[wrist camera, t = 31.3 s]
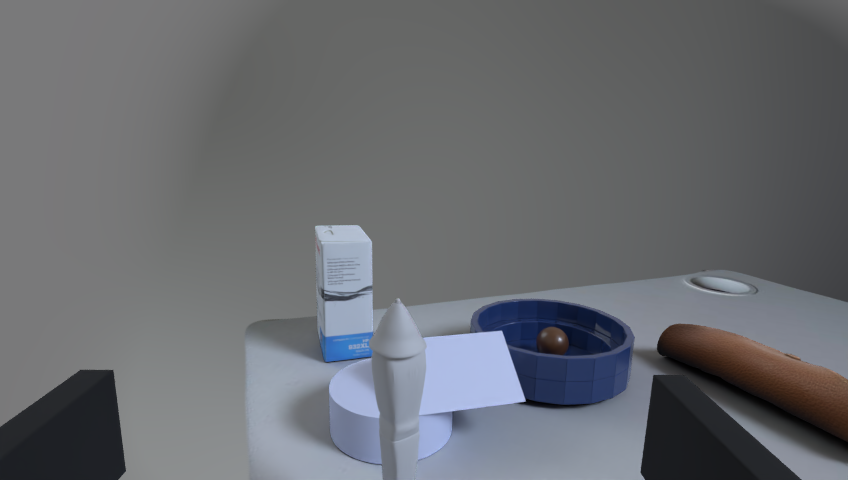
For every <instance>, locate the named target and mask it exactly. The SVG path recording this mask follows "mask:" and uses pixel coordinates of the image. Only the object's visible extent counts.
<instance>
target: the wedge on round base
mask: <svg viewBox="0 0 848 480" xmlns="http://www.w3.org/2000/svg"><path fill="white" fill-rule="evenodd" d="M423 339H424V340H425V342H426V345H427V348H426V349H425V354H426V374H425V381H424V388H423V394H422V399H421V405H420V411H419V434H420V437H419V447H418V460H420V459H423V458H426V457H428V456H430V455H432V454H434V453H435V452H437V451H438V450H439V449H441V448H442V447H443V446H444V445H445V444H446V443H447V441H448V440H449V438H450V435H451V432H452V415H453V411H458V410H465V409H473V408H481V407H489V406H496V405H504V404H512V403H519V402H526V400H525V397H524V394H523V391H522V388H521V385H520V382H519V380H518V377H517V374H516V371H515V368H514V365H513V362H512V359H511V356H510V353H509V350H508V347H507V344H506V341H505V338H504V335H503V332H502V331H493V332H482V333H470V334H459V335H448V336H436V337H425V338H423ZM329 408H330V434H331V438H332V440H333V442H334V443H335V445H336V446H337V447H338V448H339V449H340V450H341V451H343V452H344V453H345V454H347V455H349V456H351V457H353V458H355V459H358V460H361V461H364V462H368V463H374V464H382V461H381V449H380V437H379V428H380V426H379V415H380V412H379V409H378V406H377V401H376V395H375V389H374V382H373V375H372V358H370V359H366V360H362V361H359V362H356V363H353V364H351V365H349V366H347V367H345V368H343V369H342V370H340V371H339V372H338V373H337V374H336V375H335V376H334V377H333V378H332V380H331V382H330V385H329Z"/></svg>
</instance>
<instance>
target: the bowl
mask: <svg viewBox="0 0 848 480" xmlns="http://www.w3.org/2000/svg"><path fill="white" fill-rule="evenodd" d="M547 327H556V328H559V329H561V330H562V331H563V332H564V333H565V334H566V335H567V337H568V341H569V346H568V350H567V352H566V353H565V354H564V355H563V356H562V355H553V354H544V353H540V352H539V350H538V348H537V345H536V339H537V336H538V334H539V332H540V331H541V330H543V329H544V328H547ZM493 331H502V332H503V335H504V338H505V341H506V344H507V347H508V350H509V353H510V356H511V359H512V362H513V365H514V368H515V371H516V374H517V377H518V380H519V382H520V385H521V388H522V391H523V394H524V397H525V399H529V400H532V401H537V402H543V403H550V404H562V405H567V404H590V403H595V402H599V401H603V400H607V399H611V398H613V397H615V396H616V395H618V394H619V393H621V392H622V391H624V390H625V389H626V387H627V385H628V382H629V379H630V374H631V365H632V356H633V347H634V338H635V337H634V335H633V333H632V331H631V329H630V327H629V326H627V325H626V324H625V323H623V322H622V321H621V320H619V319H618V318H616V317H614V316H611V315H609V314H607V313H605V312H603V311H600V310H597V309H593V308H590V307H587V306H583V305H580V304H574V303H569V302H563V301H557V300H545V299H513V300H506V301H498V302H495V303H492V304H489V305H486V306H483V307H481V308H480V309H479V310H477V311H476V312H474V313H473V316H472V319H471V327H470V333H482V332H493Z"/></svg>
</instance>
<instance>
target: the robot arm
mask: <svg viewBox="0 0 848 480" xmlns="http://www.w3.org/2000/svg"><path fill="white" fill-rule="evenodd" d="M125 471H126V468H125V461H124V453H123V445H122V437H121V428H120V420H119V412H118V404H117V396H116V389H115V380H114V372H113V370H80V371H78V372H77V373H76V374H74V375H73V376H71V377H70V378H69V379H67V380H66V381H64V382H63V383H62V384H60V385H59V386H57V387H56V388H54V389H53V390H52V391H50V392H49V393H47V394H46V395H45V396H43V397H42V398H40V399H39V400H38V401H36V402H35V403H33V404H32V405H31V406H29V407H28V408H26V409H25V410H24V411H22V412H21V413H19V414H18V415H17V416H15V417H14V418H12V419H11V420H9V421H8V422H7V423H5V424H4V425H3V426H1V427H0V480H118V479H119V478H120V477H121V476H122V475H123V474H124V472H125ZM641 474H642V476H643V477H644V479H645V480H801V479H800V478H799V477H798V476H797V475H796V474H795V473H793V472H792V471H791V470H790V469H789V468H788V467H787V466H786V465H784V464H783V463H782V462H781V461H780V460H779V459H778V458H777V457H775V456H774V455H773V454H772V453H771V452H770V451H769V450H768V449H766V448H765V447H764V446H763V445H762V444H761V443H760V442H759V441H757V440H756V439H755V438H754V437H753V436H752V435H751V434H750V433H748V432H747V431H746V430H745V429H744V428H743V427H742V426H741V425H739V424H738V423H737V422H736V421H735V420H734V419H733V418H732V417H730V416H729V415H728V414H727V413H726V412H725V411H724V410H723V409H721V408H720V407H719V406H718V405H717V404H716V403H715V402H714V401H712V400H711V399H710V398H709V397H708V396H707V395H706V394H705V393H703V392H702V391H701V390H700V389H699V388H698V387H697V386H696V385H694V384H693V383H692V382H691V381H690V380H689V379H688V378H687V377H685V376H684V375H653V383H652V390H651V398H650V405H649V413H648V420H647V428H646V435H645V443H644V450H643V458H642V465H641Z"/></svg>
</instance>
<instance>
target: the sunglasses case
mask: <svg viewBox="0 0 848 480" xmlns="http://www.w3.org/2000/svg"><path fill="white" fill-rule="evenodd" d="M657 350H658V353H659V354H660V355H662V356H668V357H671V358H673V359H675V360H677V361H680V362H683V363H685V364H687V365H689V366H691V367H695V368H699V369H700V370H702V371H704V372H706V373H709V374H712V375H715V376H718V377H721V378H722V379H723V380H725V381H727V382H729V383H731V384H733V385H735V386H737V387H738V388H740V389H742V390H744V391H746V392H748V393H750V394H752V395H754V396H757V397H759V398H761V399H764V400H766V401H768V402H771V403H772V404H774V405H776V406H777V407H779V408H781V409H782V410H784V411H786V412H788V413H790V414H792V415H794V416H796V417H798V418H801V419H803V420H805V421H807V422H809V423H811V424H813V425H815V426H817V427H819V428H821V429H823V430H825V431H827V432H829V433H831V434H832V435H834V436H836V437H838V438H840V439H842V440H845V441H847V442H848V380H847V379H846V378H844V377H843V376H841V375H839V374H838V373H836V372H834V371H832V370H829V369H827V368H824V367H821V366H816V365H812V364H809V363H807V362H803V361H801V359H800V358H799V357H797V356H794V355H792V354H784V353H782V352H780V351H778V350H775V349H773V348H770V347H768V346H765V345H763V344H760V343H758V342H756V341H753V340H750V339H748V338H746V337H743V336H740V335H737V334H734V333H730V332H727V331H723V330H720V329H715V328H711V327H706V326H700V325H692V324H674V325H672V326H669V327H668V328H667V329H666V330H665V331H664V332H663V333H662V335H661V336H660V338H659V341H658V344H657Z"/></svg>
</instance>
